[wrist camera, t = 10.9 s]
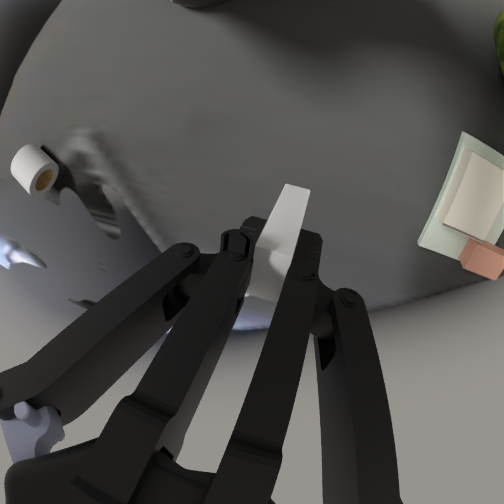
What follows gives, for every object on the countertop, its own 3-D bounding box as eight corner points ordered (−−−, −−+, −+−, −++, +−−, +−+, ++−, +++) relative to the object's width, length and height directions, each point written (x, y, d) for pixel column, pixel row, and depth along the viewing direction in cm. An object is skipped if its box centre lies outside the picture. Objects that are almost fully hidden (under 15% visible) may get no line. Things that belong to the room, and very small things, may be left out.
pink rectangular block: (471, 234, 34) (477, 244, 32) (503, 249, 33) (509, 259, 30) (458, 257, 37) (463, 268, 35) (490, 270, 36) (495, 281, 34)
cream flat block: (464, 146, 27) (472, 152, 25) (504, 170, 26) (513, 177, 24) (436, 215, 35) (441, 225, 33) (476, 233, 34) (482, 243, 31)
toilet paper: (37, 167, 55) (11, 183, 48) (40, 137, 49) (11, 152, 41) (56, 185, 57) (29, 204, 49) (60, 156, 51) (30, 173, 43)
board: (462, 131, 27) (465, 132, 26) (524, 171, 25) (528, 173, 24) (417, 241, 40) (418, 245, 39) (478, 265, 37) (480, 268, 37)
